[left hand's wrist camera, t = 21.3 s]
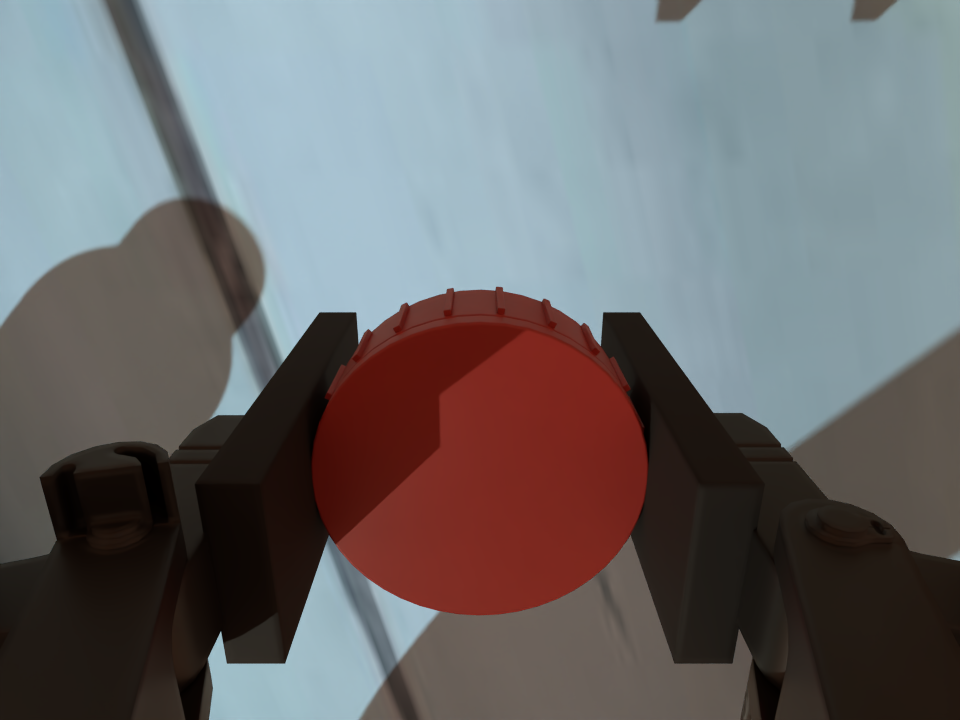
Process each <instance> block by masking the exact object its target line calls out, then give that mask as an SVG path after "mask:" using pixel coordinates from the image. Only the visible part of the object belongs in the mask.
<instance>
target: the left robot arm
mask: <svg viewBox="0 0 960 720" xmlns="http://www.w3.org/2000/svg"><path fill="white" fill-rule="evenodd" d="M357 347H358V330H357V316H356V312H320V313H319V314H318V315H317V317H316V318H315V319H314V321H313V322H312V324H311V325H310V326H309V328H308V329H307V330H306V332H305V333H304V335H303V336H302V337H301V339H300V340H299V341H298V343H297V344H296V345H295V347H294V348H293V350H292V351H291V352H290V354H289V355H288V356H287V358H286V359H285V361H284V362H283V363H282V365H281V366H280V367H279V369H278V370H277V372H276V373H275V374H274V376H273V377H272V378H271V380H270V381H269V383H268V384H267V385H266V387H265V388H264V389H263V391H262V392H261V393H260V395H259V396H258V398H257V399H256V400H255V402H254V403H253V404H252V406H251V407H250V409H249V410H248V411H247V413H246V414H245V415H218V416H216V417H214V418H212V419H211V420H209V421H207V422H206V423H204V424H202V425H200V426H199V427H197V428H195V429H194V430H193V431H192V432H191V433H190V434H189V435H188V437H187V438H186V439H185V440H184V441H183V442H182V444H181V445H180V446H179V450H176V451H175V452H174V453H173V454H172V455H171V457H170V458H169V457H168V452H167V451H166V450H164V449H163V448H161V447H160V446H158V445H156V444H151V443H146V442H141V441H140V442H117V443H111V444H106V445H101V446H96V447H92V448H89V449H87V450H84V451H81V452H78V453H75V454H72V455H70V456H68V457H66V458H65V459H63V460H61V461H59V462H57V463H55V464H54V465H52V466H51V467H50V468H49V469H48V470H47V471H46V472H45V473H44V474H43V475H42V476H41V477H40V481H41V485H42V488H43V492H44V495H45V499H46V502H47V506H48V510H49V513H50V517H51V520H52V524H53V528H54V531H55V535H56V538H57V541H56V542H55V544H54V546H53V548H52V550H51V552H50V554H48V555H44V556H40V557H35V558H30V559H25V560H19V561H14V562H9V563H4V564H0V720H209V714H210V706H211V698H212V691H213V686H212V679H211V673H210V668H209V663H208V657H209V655H210V652H211V650H212V648H213V646H214V644H215V642H216V640H217V638H218V636H219V634H220V632H221V633H222V638H223V644H224V649H225V655H226V660H227V663H285V662H286V659H287V656H288V653H289V650H290V647H291V644H292V641H293V638H294V635H295V632H296V630H297V627H298V624H299V621H300V618H301V615H302V612H303V609H304V606H305V603H306V600H307V597H308V594H309V591H310V589H311V586H312V583H313V580H314V577H315V574H316V571H317V568H318V565H319V562H320V559H321V556H322V553H323V550H324V547H325V545H326V542H327V539H328V536H329V534H328V532H327V530H326V528H325V525H324V523H323V521H322V519H321V517H320V514H319V511H318V508H317V505H316V502H315V498H314V490H313V481H312V471H311V456H312V449H313V441H314V438H315V435H316V431H317V428H318V424H319V422H320V419H321V417H322V415H323V413H324V411H325V409H326V406H327V404H328V402H329V400H327V399H325V396H326V394H327V392H328V390H329V388H330V386H331V384H332V382H333V380H334V378H335V376H336V374H337V372H338V370H339V368H340V366H341V365H344V366H346V365H347V363H348V362H349V360H350V359H351V357H352V356H353V354H354V353H355V351H356V349H357ZM601 347H602V349H603V350H604V352H605V353H606V355H607V356H608V358H609V359H610V358H612V357H614V358H615V360H616V361H617V363H618V365H619V367H620V369H621V371H622V373H623V375H624V377H625V379H626V381H627V383H628V385H629V387H630V390H629V391H627V392H626V393H627V395H628V396H629V397H630V399H631V401H632V403H633V405H634V407H635V409H636V411H637V413H638V415H639V417H640V419H641V421H642V423H643V425H644V436H645V440H646V443H647V452H648V460H649V465H648V476H647V486H646V495H645V501H644V504H643V507H642V510H641V513H640V516H639V518H638V521H637V523H636V525H635V527H634V529H633V531H632V533H631V537H632V540H633V543H634V546H635V549H636V552H637V555H638V558H639V560H640V563H641V566H642V569H643V572H644V575H645V578H646V581H647V584H648V587H649V590H650V593H651V596H652V599H653V602H654V604H655V607H656V610H657V613H658V616H659V619H660V622H661V625H662V628H663V631H664V634H665V637H666V640H667V643H668V645H669V648H670V651H671V654H672V657H673V660H674V663H733V658H734V652H735V647H736V641H737V636H738V630H739V629H740V631H741V633H742V635H743V637H744V640H745V642H746V644H747V646H748V648H749V650H750V652H751V654H752V656H753V657H752V663H751V668H750V673H749V678H748V683H747V688H746V693H745V698H744V704H743V709H742V714H741V719H740V720H960V561H957V560H952V559H946V558H941V557H936V556H931V555H925V554H920V553H916V552H912V551H909V549H908V547H907V545H906V543H905V541H904V539H903V538H902V537H901V536H900V534H899V533H898V532H897V531H896V530H895V529H894V527H893V526H892V525H890V524H889V523H887V522H886V521H884V520H883V519H881V518H880V517H878V516H877V515H875V514H874V513H871V512H869V511H866V510H864V509H861V508H859V507H856V506H854V505H851V504H847V503H842V502H838V501H833V500H829V499H828V498H827V497H826V496H825V495H824V494H823V493H822V491H821V490H820V489H819V488H818V487H817V486H816V484H815V483H814V482H813V481H812V480H811V479H810V477H809V476H808V475H807V474H806V473H805V472H804V470H803V469H802V468H801V467H800V466H799V465H798V463H797V462H793V458H792V456H791V455H790V454H789V453H788V452H787V451H786V449H785V448H784V447H781V444H780V442H779V441H778V440H777V439H776V438H775V437H774V435H773V434H772V433H771V432H770V431H769V430H768V428H767V427H765V426H763V425H762V424H760V423H758V422H757V421H755V420H753V419H751V418H750V417H748V416H746V415H744V414H743V413H713V412H712V411H711V409H710V408H709V406H708V405H707V404H706V402H705V401H704V400H703V398H702V397H701V395H700V394H699V393H698V391H697V390H696V389H695V387H694V386H693V385H692V383H691V382H690V380H689V379H688V378H687V376H686V375H685V374H684V372H683V371H682V369H681V368H680V367H679V365H678V364H677V363H676V361H675V360H674V358H673V357H672V356H671V354H670V353H669V352H668V350H667V349H666V347H665V346H664V345H663V343H662V342H661V341H660V339H659V338H658V337H657V335H656V334H655V332H654V331H653V330H652V328H651V327H650V326H649V324H648V323H647V321H646V320H645V319H644V317H643V316H642V315H641V313H640V312H603V324H602V338H601Z"/></svg>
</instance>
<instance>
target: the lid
mask: <svg viewBox="0 0 960 720" xmlns="http://www.w3.org/2000/svg"><path fill="white" fill-rule="evenodd" d="M629 390H630V387H629V385H628V383H627V381H626V379H625V377H624V375H623V373H622V371H621V369H620V367H619V365H618V363H617V361H616V360H615V358H614V357H612V358H610V359H609V358H608V356H607V355H606V353H605V352H604V350H603V349H602V347H601V346H600V345H599V344H598V343H597V341H596V340H595V339H594V337H593V335H592V333H591V331H590V329H589V326H587V325H586V324H585V323H583V324H582V325H581V326H580V325H579V324H578V323H577V322H576V321H574V320H573V319H571V318H570V317H568V316H567V315H565V314H564V313H562V312H561V311H559V310H557V309H555V308H553V307H551V304H550V301H549V300H546V299H543V301H542V302H541V301H538V300H535V299H532V298H529V297H526V296H523V295H518V294H513V293H508V292H503V288H502V287H496V291H492V290H468V291H457V292H454V289H453V288H450V289H447V292H446V294H441V295H437V296H434V297H431V298H428V299H425V300H422V301H419V302H417V303H415V304H413V305H411V306H409V305H408V303H405V304H403V305H401V308H400V310H399V312H397V313H396V314H394V315H393V316H391V317H390V318H388V319H387V320H385V321H384V322H383V323H382V324H380V325H379V326H378V327H377V328H376V329H375V330H374V331H372V332H371V331H370V330H369V329H368V330H367V331H366V332H365V333H364V335H363V337H362V339H361V341H360V343H359V345H358V347H357V349H356V351H355V353H354V354H353V356H352V357H351V359H350V360H349V362H348V363H347V365H346V366H344V365H341V366H340V368H339V370H338V372H337V374H336V376H335V378H334V380H333V382H332V384H331V386H330V388H329V390H328V392H327V394H326V396H325V399H327V400H329V402H328V404H327V406H326V409H325V411H324V413H323V415H322V417H321V419H320V422H319V424H318V428H317V431H316V435H315V438H314V441H313V449H312V456H311V471H312V481H313V490H314V498H315V502H316V505H317V508H318V511H319V514H320V517H321V519H322V521H323V523H324V525H325V528H326V530H327V532H328V534H329V535H330V537H331V538H332V540H333V541H334V543H335V544H336V546H337V547H338V549H339V550H340V552H341V553H342V554H343V555H344V556H345V557H346V558H347V559H348V560H349V562H350V563H351V564H352V565H353V566H354V567H355V568H356V569H358V570H359V571H360V572H361V573H362V574H363V575H364V576H366V577H367V578H368V579H369V580H371V581H372V582H374V583H375V584H377V585H378V586H380V587H381V588H383V589H384V590H386V591H388V592H390V593H392V594H394V595H396V596H398V597H399V598H401V599H404V600H407V601H409V602H412V603H414V604H417V605H419V606H423V607H426V608H430V609H434V610H437V611H443V612H449V613H455V614H466V615H495V614H504V613H511V612H517V611H522V610H526V609H529V608H533V607H537V606H540V605H543V604H545V603H548V602H551V601H553V600H556V599H558V598H560V597H562V596H564V595H566V594H568V593H570V592H572V591H574V590H575V589H577V588H578V587H580V586H581V585H583V584H584V583H586V582H587V581H589V580H590V579H592V578H593V577H594V576H595V575H596V574H597V573H599V572H600V571H601V570H602V569H603V568H604V567H606V565H607V564H608V563H609V562H610V561H611V560H612V559H613V558H614V557H615V556H616V555H617V553H618V552H619V551H620V549H621V548H622V547H623V545H624V544H625V542H626V541H627V539H628V538H629V536H630V534H631V533H632V531H633V529H634V527H635V525H636V523H637V521H638V518H639V516H640V513H641V510H642V507H643V504H644V501H645V495H646V486H647V476H648V465H649V460H648V452H647V443H646V440H645V436H644V425H643V423H642V421H641V419H640V417H639V415H638V413H637V411H636V409H635V407H634V405H633V403H632V401H631V399H630V397H629V396H628V395H627V393H626V392H627V391H629Z"/></svg>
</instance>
